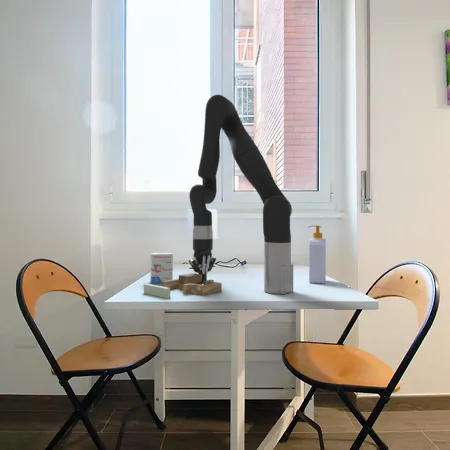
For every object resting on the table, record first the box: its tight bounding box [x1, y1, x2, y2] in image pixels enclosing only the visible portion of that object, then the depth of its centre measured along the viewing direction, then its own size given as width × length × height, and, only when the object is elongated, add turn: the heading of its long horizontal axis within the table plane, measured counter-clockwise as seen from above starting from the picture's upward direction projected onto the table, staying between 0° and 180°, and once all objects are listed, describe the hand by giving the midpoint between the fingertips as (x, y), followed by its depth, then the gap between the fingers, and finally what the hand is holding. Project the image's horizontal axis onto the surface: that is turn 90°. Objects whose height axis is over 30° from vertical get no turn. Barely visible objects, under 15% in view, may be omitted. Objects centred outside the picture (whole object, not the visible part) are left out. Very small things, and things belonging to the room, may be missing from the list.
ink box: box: [150, 252, 174, 284], centre depth 142 cm, size 9×5×12 cm, turn 105°
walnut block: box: [178, 272, 203, 291], centre depth 128 cm, size 5×7×5 cm
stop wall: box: [143, 283, 171, 299], centre depth 116 cm, size 12×2×3 cm, turn 49°
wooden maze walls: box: [162, 278, 223, 296], centre depth 125 cm, size 18×14×3 cm
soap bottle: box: [307, 225, 327, 285], centre depth 143 cm, size 9×7×23 cm
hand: (202, 283), depth 133 cm, fingers closed
